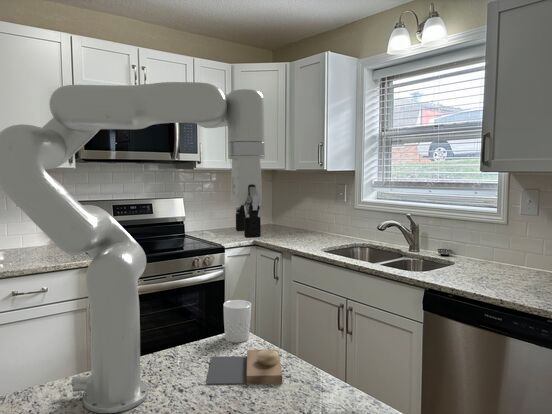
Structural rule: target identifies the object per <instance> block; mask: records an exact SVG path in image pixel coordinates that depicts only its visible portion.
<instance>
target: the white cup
mask: <svg viewBox="0 0 552 414" xmlns="http://www.w3.org/2000/svg"><path fill="white" fill-rule="evenodd" d="M251 316H252V302H250V301H248V300H244V299H232V300H228V301H225V302H224V303H223V326H224V339H225V340H226V342H231V343H235V344H236V343H243V342H246V341H248V340H249V339H250V328H251V327H250V326H251Z"/></svg>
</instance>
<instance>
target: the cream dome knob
mask: <svg viewBox="0 0 552 414" xmlns="http://www.w3.org/2000/svg"><path fill="white" fill-rule="evenodd" d="M260 350H261V351H259V352H258V360H257V362H258V364H259V365H262V366H274V365H277V364H278V352H277V351H274V350H275V349H260Z"/></svg>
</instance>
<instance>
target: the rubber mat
mask: <svg viewBox="0 0 552 414" xmlns="http://www.w3.org/2000/svg"><path fill="white" fill-rule="evenodd" d="M210 358H211V359H210V362H209V363H210V364H209V369H208V373H207V377H206V382H205V385H206V386H210V385H212V386H213V385H215V386H216V385H218V386H221V385H222V386H225V385H226V386H228V385H248V384H247V355H246V356H241V355H240V356H237V355H236V356H211V357H210Z"/></svg>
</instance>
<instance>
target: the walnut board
mask: <svg viewBox="0 0 552 414" xmlns="http://www.w3.org/2000/svg"><path fill="white" fill-rule="evenodd" d="M261 350H262V349H246V356H247V384H246V385H283V369H282V363H281V358H280V351H279V349H273V350H274V351H277V352H278V364H277V365H274V366H262V365H259V364H258V362H257V360H258V352H259V351H261Z"/></svg>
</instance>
